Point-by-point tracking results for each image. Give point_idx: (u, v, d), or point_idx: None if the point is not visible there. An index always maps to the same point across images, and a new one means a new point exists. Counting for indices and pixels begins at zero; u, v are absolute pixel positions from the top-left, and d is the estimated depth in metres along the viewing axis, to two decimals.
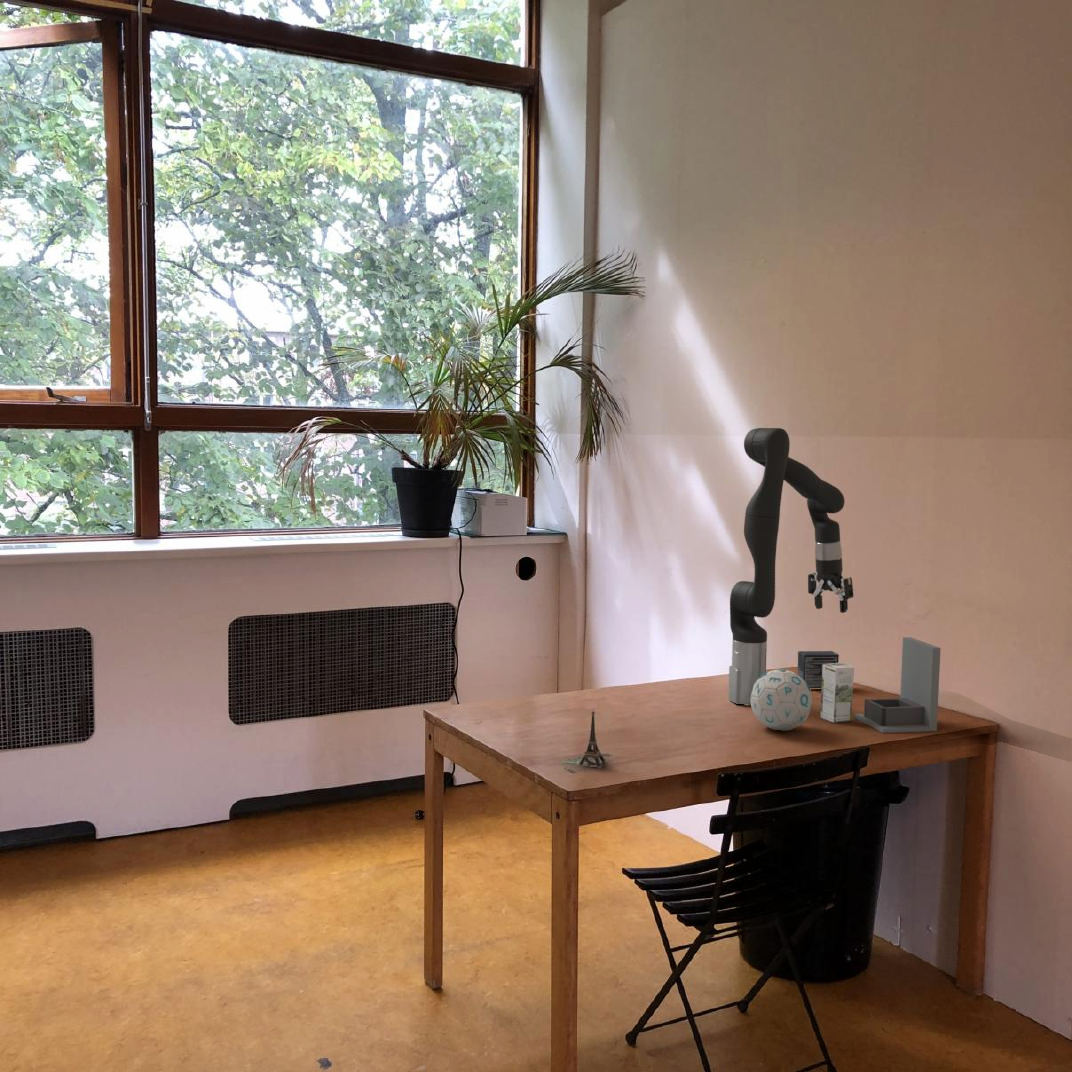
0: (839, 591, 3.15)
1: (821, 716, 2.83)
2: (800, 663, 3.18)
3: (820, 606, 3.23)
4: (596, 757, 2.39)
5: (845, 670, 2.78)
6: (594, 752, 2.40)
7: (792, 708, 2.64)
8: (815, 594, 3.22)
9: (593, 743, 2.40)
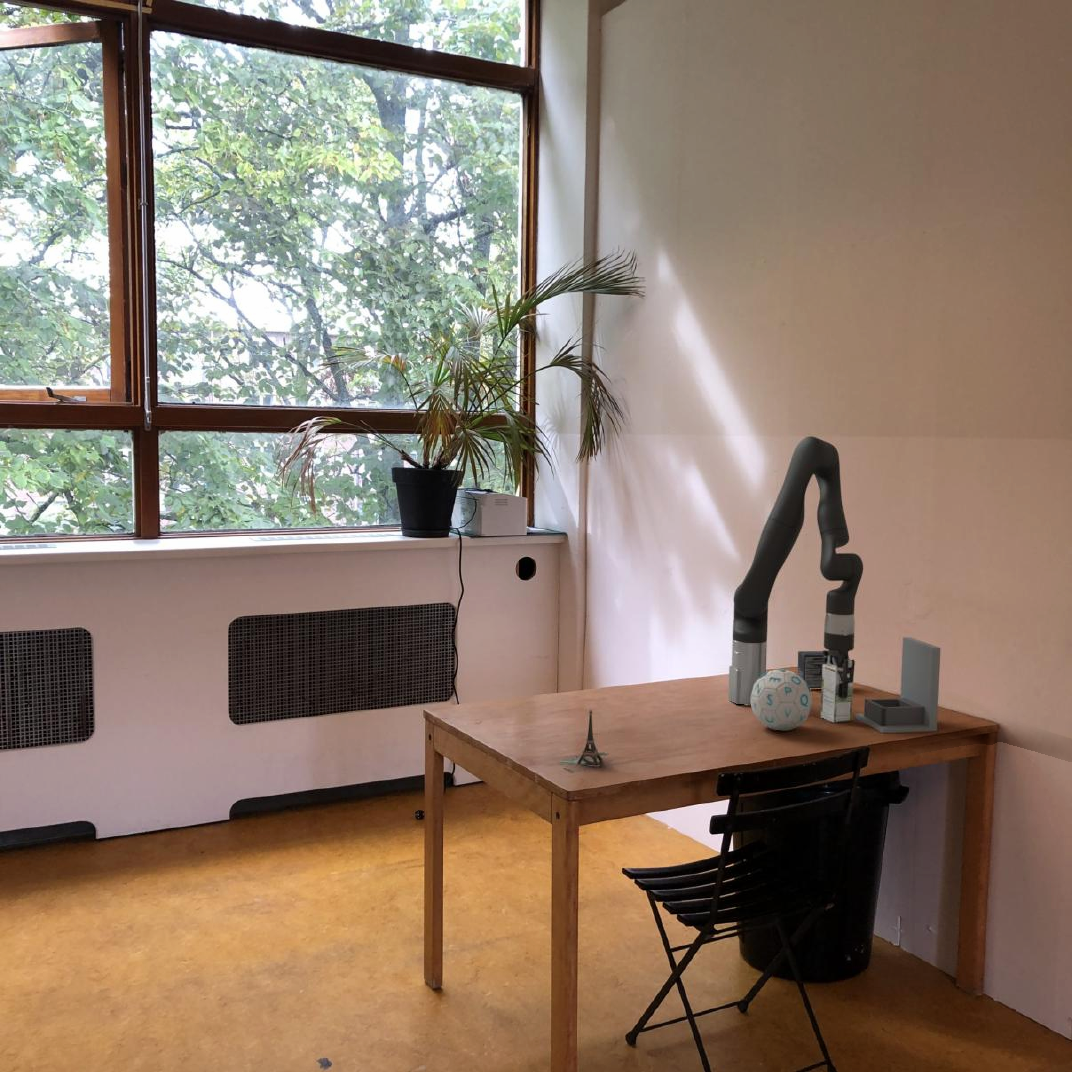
0: (840, 672, 2.77)
1: (821, 716, 2.83)
2: (800, 663, 3.18)
3: None
4: (594, 756, 2.40)
5: None
6: (592, 751, 2.40)
7: (792, 708, 2.64)
8: None
9: (591, 742, 2.41)
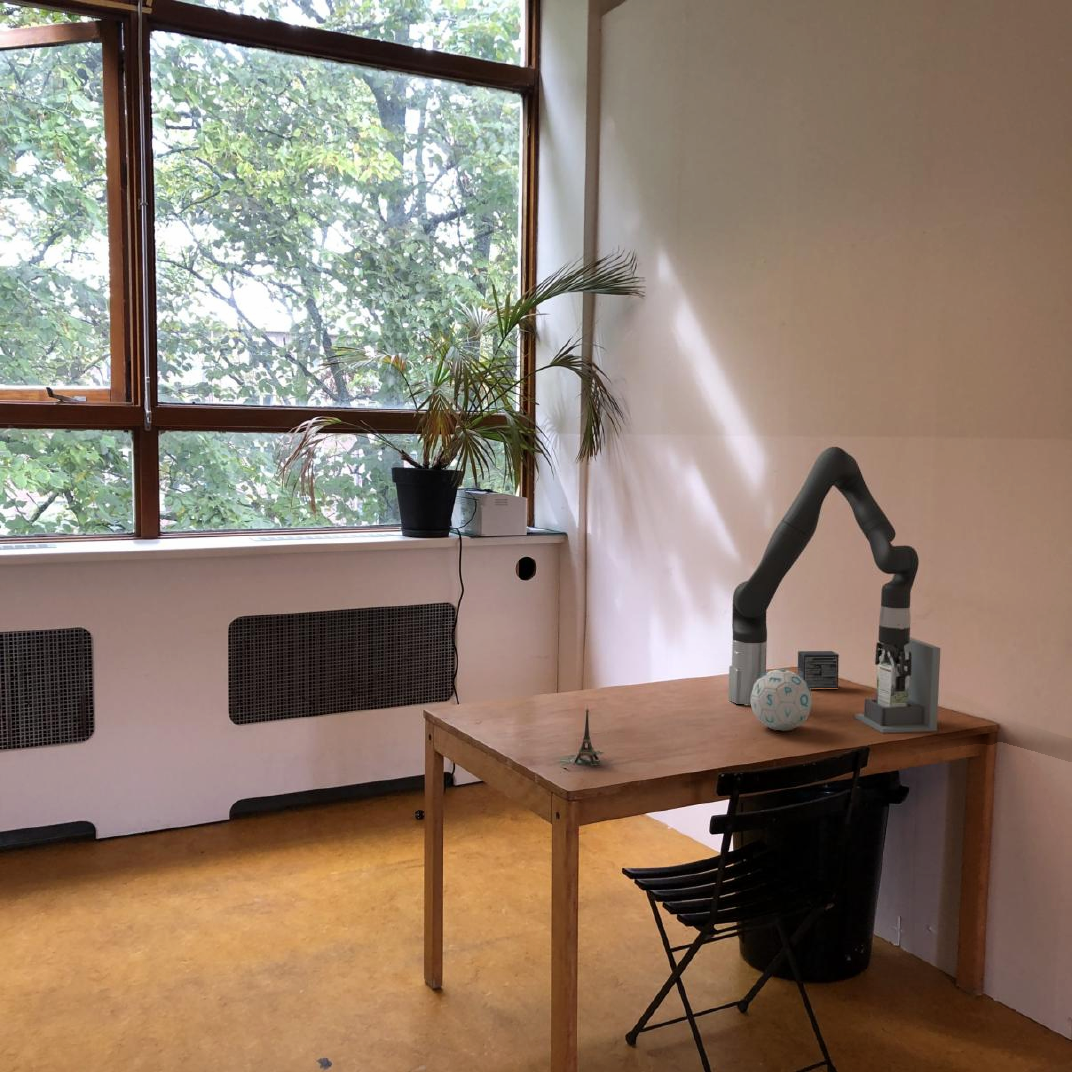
0: (896, 665, 2.73)
1: None
2: (800, 663, 3.18)
3: None
4: (591, 755, 2.41)
5: None
6: (589, 750, 2.41)
7: (792, 708, 2.64)
8: None
9: (587, 741, 2.42)
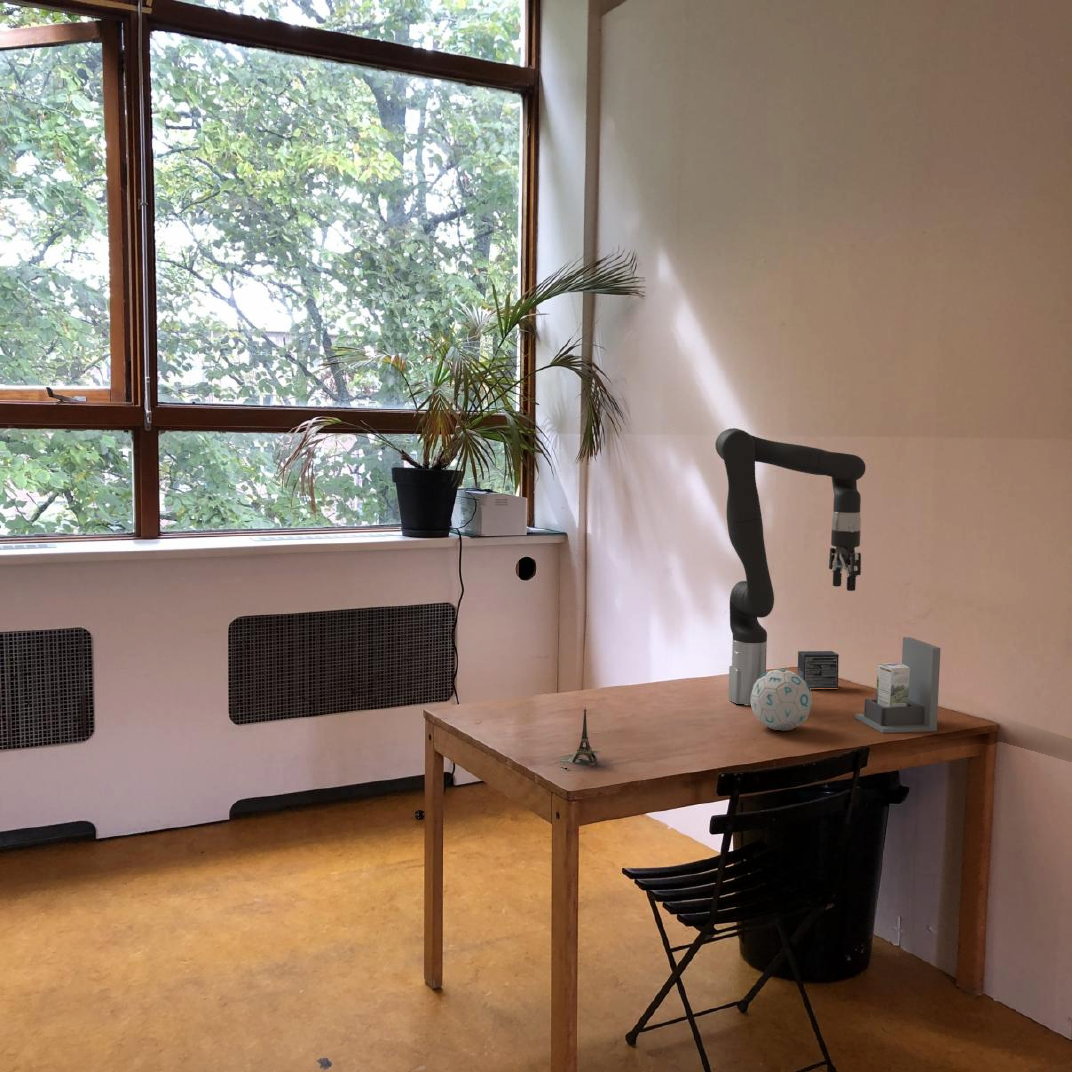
0: (847, 566, 2.91)
1: None
2: (800, 663, 3.18)
3: (837, 584, 2.99)
4: (589, 754, 2.41)
5: (901, 670, 2.74)
6: (587, 749, 2.42)
7: (792, 708, 2.64)
8: (832, 569, 2.99)
9: (585, 740, 2.42)
